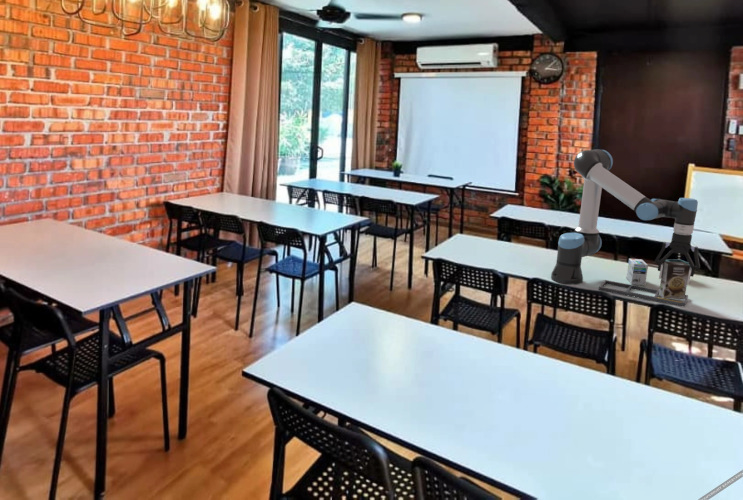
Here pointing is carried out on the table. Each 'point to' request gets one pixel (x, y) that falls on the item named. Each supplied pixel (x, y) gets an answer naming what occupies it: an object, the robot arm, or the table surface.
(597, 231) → the robot arm
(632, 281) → the light bulb box
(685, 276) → the brown cardboard box
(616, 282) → the gray sectioned tray
